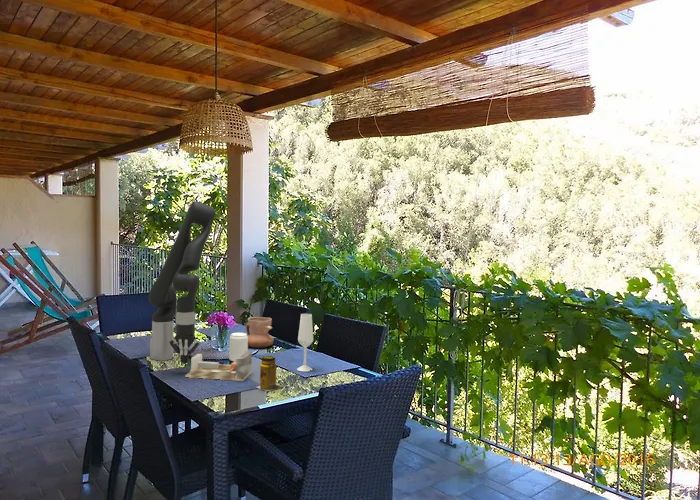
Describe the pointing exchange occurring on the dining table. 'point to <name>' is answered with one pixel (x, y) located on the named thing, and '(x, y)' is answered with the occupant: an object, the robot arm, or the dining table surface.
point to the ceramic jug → (259, 332)
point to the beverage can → (237, 345)
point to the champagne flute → (305, 337)
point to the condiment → (268, 374)
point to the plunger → (202, 363)
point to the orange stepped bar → (233, 367)
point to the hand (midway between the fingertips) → (184, 363)
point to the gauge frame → (226, 370)
